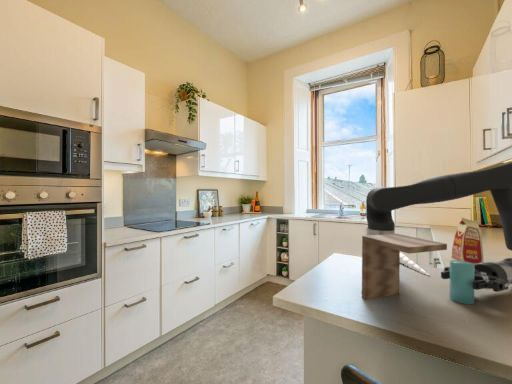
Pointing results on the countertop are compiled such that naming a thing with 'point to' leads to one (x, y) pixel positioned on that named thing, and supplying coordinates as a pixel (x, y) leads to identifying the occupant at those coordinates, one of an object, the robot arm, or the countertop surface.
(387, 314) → the countertop surface
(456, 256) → the milk carton
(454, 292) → the teal rounded cylinder
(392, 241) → the shelf
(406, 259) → the unicorn horn
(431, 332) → the countertop surface
